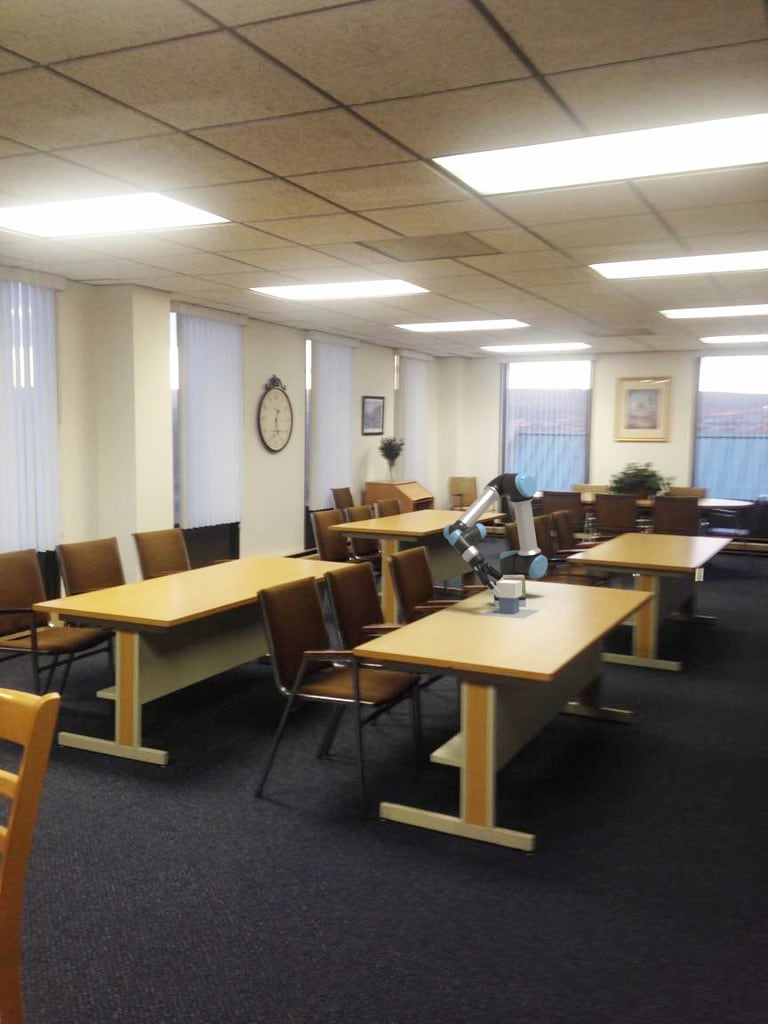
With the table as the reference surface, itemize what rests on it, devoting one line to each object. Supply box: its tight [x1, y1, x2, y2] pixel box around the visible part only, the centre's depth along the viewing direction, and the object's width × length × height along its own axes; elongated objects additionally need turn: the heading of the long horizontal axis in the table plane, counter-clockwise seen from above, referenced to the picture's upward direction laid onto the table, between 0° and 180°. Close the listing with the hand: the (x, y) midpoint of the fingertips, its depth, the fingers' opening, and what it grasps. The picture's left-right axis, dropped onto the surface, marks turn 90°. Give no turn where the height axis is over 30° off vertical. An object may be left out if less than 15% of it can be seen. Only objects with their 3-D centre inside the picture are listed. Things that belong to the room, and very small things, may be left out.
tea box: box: [493, 575, 527, 608], centre depth 414 cm, size 15×10×15 cm, turn 84°
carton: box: [499, 597, 520, 614], centre depth 394 cm, size 7×7×13 cm
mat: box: [478, 606, 541, 619], centre depth 395 cm, size 22×22×1 cm
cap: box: [496, 580, 522, 598], centre depth 394 cm, size 9×9×7 cm
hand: (503, 592), depth 394 cm, fingers open, 13 cm apart
